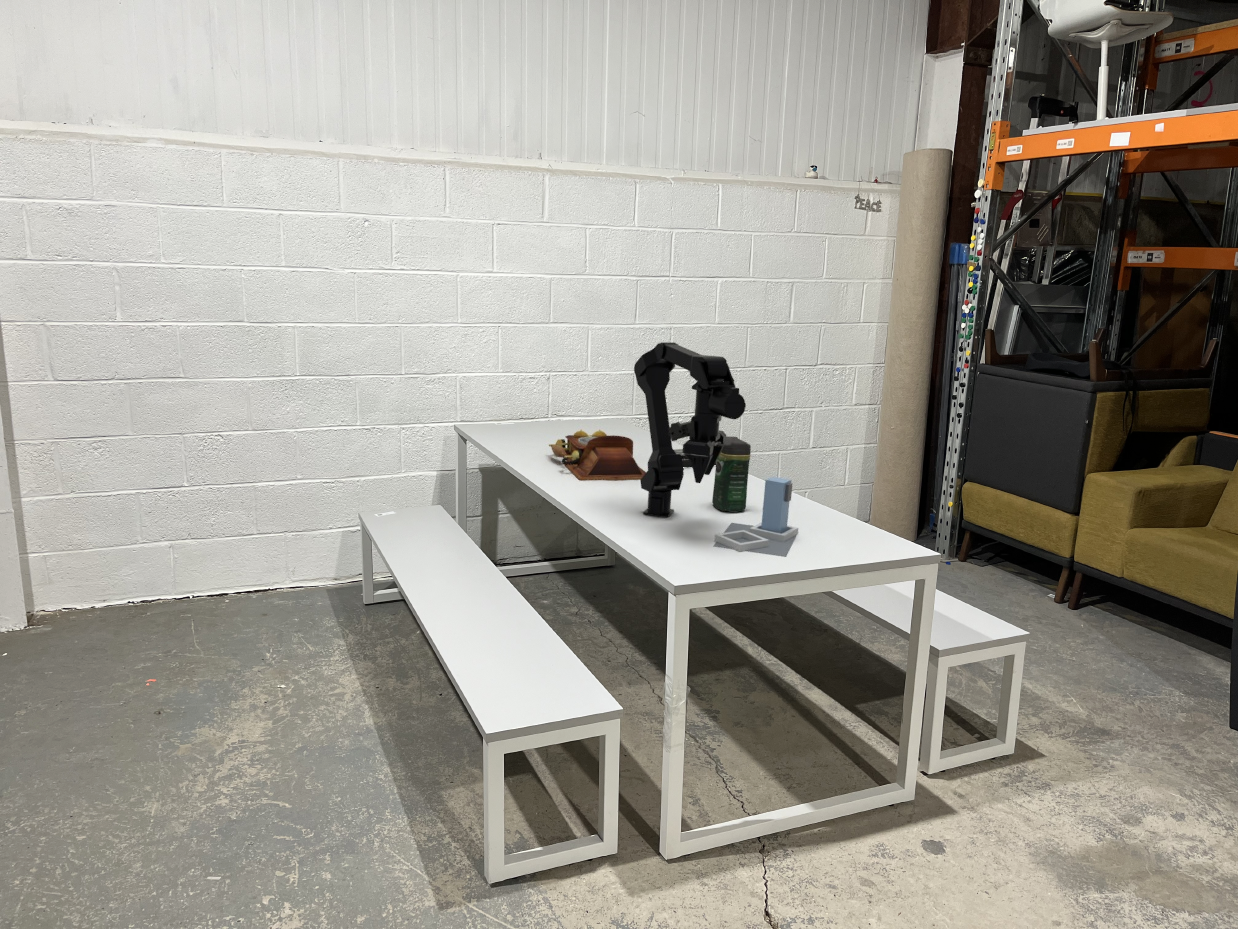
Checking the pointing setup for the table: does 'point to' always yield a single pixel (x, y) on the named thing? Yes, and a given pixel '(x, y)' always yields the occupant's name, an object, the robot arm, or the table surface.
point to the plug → (776, 504)
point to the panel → (767, 550)
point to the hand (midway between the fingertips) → (702, 478)
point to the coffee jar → (732, 475)
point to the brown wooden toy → (598, 456)
